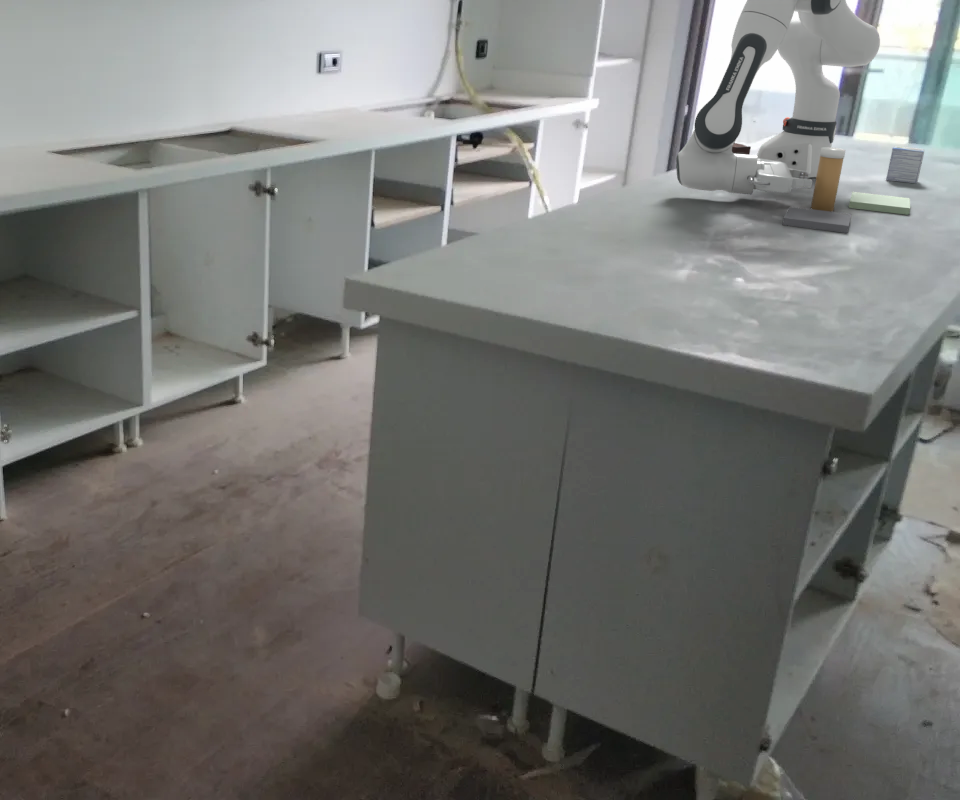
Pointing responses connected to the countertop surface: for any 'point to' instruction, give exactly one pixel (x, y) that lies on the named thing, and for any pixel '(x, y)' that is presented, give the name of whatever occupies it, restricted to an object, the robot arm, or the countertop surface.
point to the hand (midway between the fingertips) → (809, 179)
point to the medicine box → (905, 164)
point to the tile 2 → (880, 203)
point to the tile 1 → (817, 219)
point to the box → (741, 149)
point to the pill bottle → (827, 178)
